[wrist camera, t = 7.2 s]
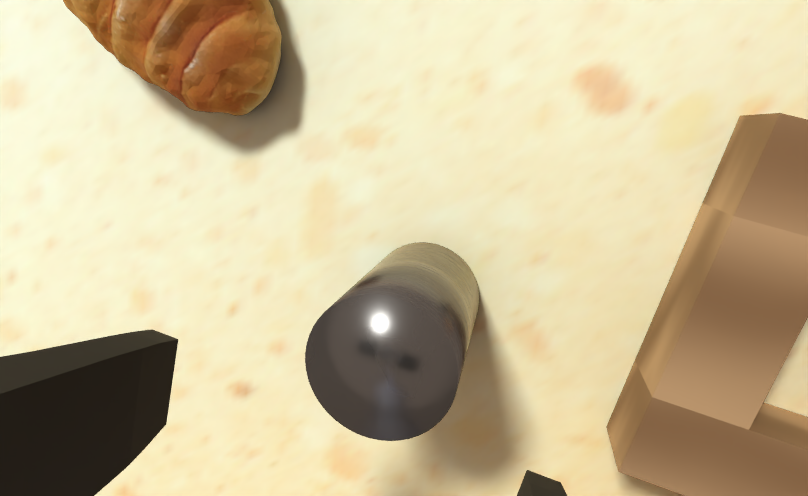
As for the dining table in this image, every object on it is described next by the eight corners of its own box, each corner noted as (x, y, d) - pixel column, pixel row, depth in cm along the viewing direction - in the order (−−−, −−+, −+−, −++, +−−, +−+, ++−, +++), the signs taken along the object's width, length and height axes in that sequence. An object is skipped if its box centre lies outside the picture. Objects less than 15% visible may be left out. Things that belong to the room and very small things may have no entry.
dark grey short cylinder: (461, 362, 19) (433, 462, 13) (360, 327, 19) (292, 408, 14) (493, 262, 18) (478, 324, 12) (385, 228, 18) (322, 272, 13)
